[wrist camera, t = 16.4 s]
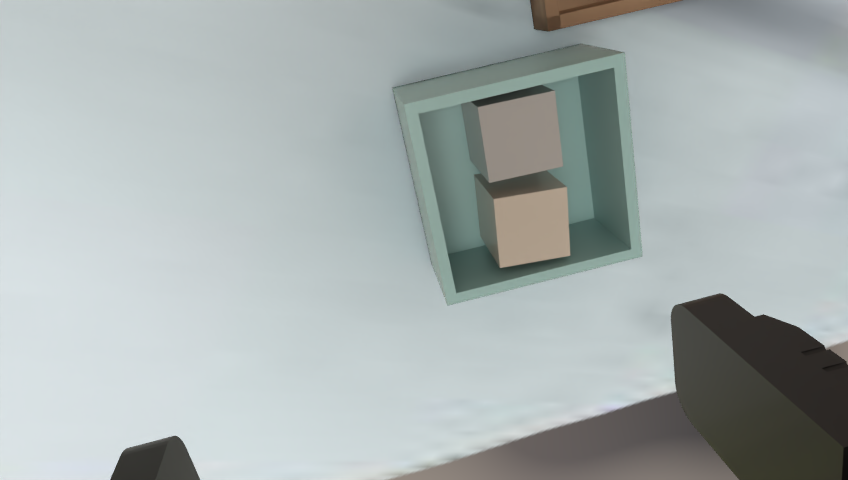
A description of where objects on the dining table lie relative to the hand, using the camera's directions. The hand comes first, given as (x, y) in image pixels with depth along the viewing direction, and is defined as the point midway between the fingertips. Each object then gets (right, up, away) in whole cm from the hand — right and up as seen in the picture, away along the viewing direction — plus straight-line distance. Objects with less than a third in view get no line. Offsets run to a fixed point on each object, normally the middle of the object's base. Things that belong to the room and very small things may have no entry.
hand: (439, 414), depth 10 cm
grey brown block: (+4, +10, +28) cm, 29 cm away
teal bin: (+5, +8, +29) cm, 30 cm away
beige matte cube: (+5, +5, +29) cm, 30 cm away
